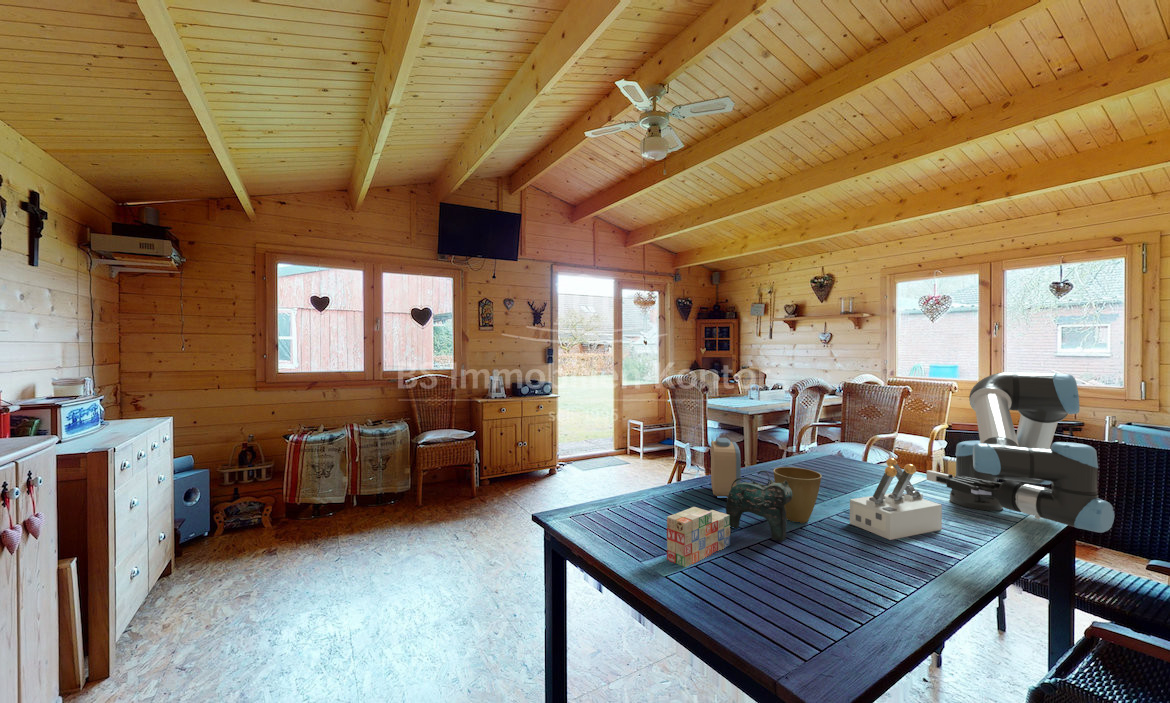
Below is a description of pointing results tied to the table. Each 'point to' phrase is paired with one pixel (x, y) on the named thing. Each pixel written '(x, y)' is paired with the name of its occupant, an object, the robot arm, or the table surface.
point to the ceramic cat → (760, 504)
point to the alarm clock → (724, 466)
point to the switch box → (896, 516)
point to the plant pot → (799, 491)
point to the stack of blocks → (696, 535)
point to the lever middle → (903, 482)
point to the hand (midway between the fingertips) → (928, 475)
